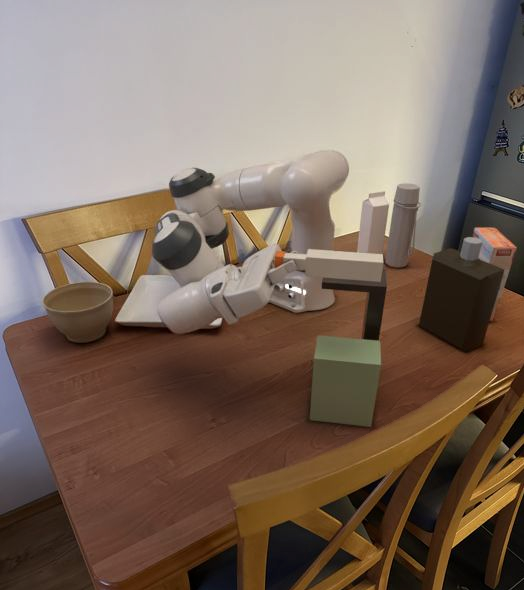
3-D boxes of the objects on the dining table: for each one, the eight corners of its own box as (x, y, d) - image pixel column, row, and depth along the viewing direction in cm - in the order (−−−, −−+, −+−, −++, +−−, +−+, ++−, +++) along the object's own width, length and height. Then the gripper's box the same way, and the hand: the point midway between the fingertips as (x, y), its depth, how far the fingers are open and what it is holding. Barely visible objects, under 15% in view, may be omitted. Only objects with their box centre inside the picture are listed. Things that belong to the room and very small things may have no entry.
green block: (309, 420, 97) (313, 358, 89) (313, 394, 104) (317, 335, 95) (371, 427, 95) (381, 364, 87) (370, 401, 102) (380, 340, 94)
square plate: (115, 333, 124) (112, 320, 122) (142, 285, 147) (140, 273, 145) (221, 335, 123) (220, 322, 121) (232, 286, 146) (231, 274, 144)
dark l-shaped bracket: (314, 386, 106) (321, 281, 92) (317, 365, 113) (324, 264, 99) (370, 392, 104) (387, 286, 90) (370, 370, 111) (385, 268, 97)
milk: (381, 261, 161) (391, 194, 149) (365, 264, 159) (374, 196, 147) (370, 254, 166) (379, 188, 153) (355, 257, 164) (363, 190, 151)
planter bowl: (127, 339, 122) (120, 300, 116) (61, 358, 115) (49, 318, 109) (109, 312, 134) (102, 275, 128) (47, 327, 127) (36, 290, 121)
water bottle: (379, 263, 160) (390, 185, 146) (395, 257, 163) (407, 181, 149) (401, 273, 153) (414, 192, 139) (417, 267, 157) (432, 188, 143)
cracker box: (495, 322, 128) (518, 247, 117) (471, 322, 128) (492, 246, 117) (477, 297, 140) (496, 226, 128) (456, 297, 140) (473, 226, 128)
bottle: (465, 354, 116) (493, 256, 102) (414, 325, 127) (432, 233, 113) (486, 344, 119) (516, 248, 105) (435, 317, 131) (455, 226, 117)
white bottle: (273, 273, 86) (274, 254, 84) (277, 265, 89) (277, 246, 87) (380, 282, 84) (383, 262, 82) (380, 273, 87) (383, 254, 85)
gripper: (251, 279, 101) (310, 251, 96) (227, 330, 85) (298, 300, 79) (235, 253, 99) (295, 223, 93) (208, 300, 82) (279, 268, 77)
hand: (296, 259), depth 86 cm, fingers closed on white bottle, 2 cm apart
